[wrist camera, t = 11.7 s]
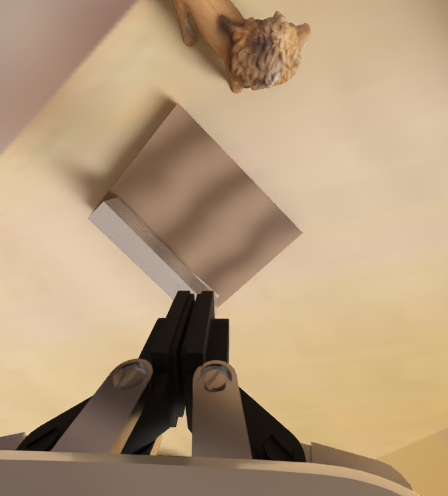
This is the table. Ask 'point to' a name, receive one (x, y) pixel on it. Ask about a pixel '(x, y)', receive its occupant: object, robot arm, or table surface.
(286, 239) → the stool seat
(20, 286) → the table surface
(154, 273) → the folding leg
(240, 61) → the lion figurine
